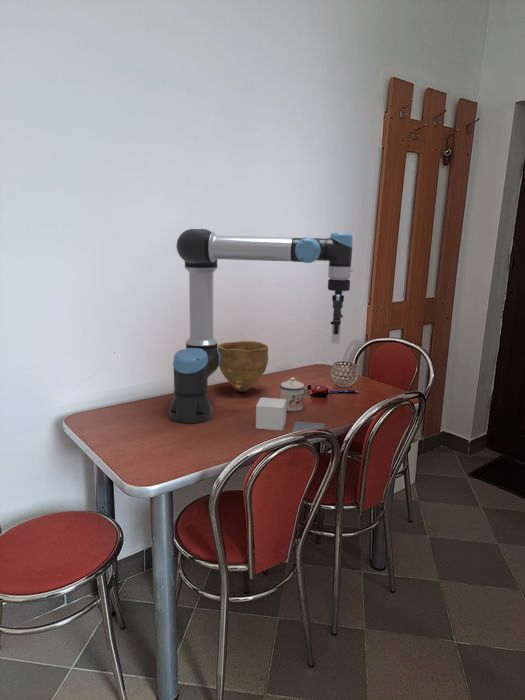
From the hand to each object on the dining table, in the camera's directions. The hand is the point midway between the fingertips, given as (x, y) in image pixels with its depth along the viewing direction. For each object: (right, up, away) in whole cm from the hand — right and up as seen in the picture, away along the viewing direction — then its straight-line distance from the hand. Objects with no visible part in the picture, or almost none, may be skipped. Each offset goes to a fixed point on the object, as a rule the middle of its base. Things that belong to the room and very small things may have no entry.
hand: (335, 339), depth 178 cm
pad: (-10, -30, -8) cm, 33 cm away
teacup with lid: (-14, -26, +13) cm, 32 cm away
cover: (-23, -29, -5) cm, 38 cm away
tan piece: (-34, -21, +30) cm, 50 cm away
